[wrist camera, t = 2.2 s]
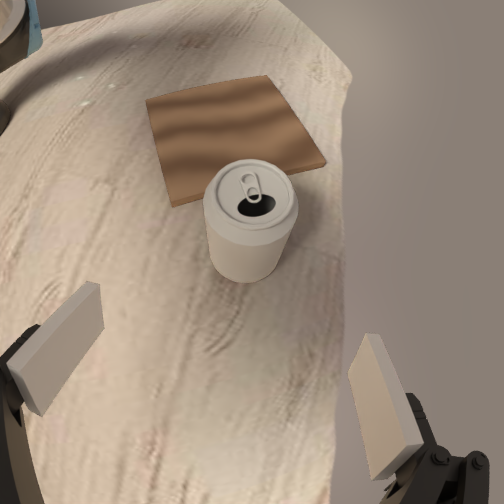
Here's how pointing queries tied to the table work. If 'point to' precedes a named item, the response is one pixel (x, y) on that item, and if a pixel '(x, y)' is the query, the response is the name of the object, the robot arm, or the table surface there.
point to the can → (248, 218)
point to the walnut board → (226, 133)
